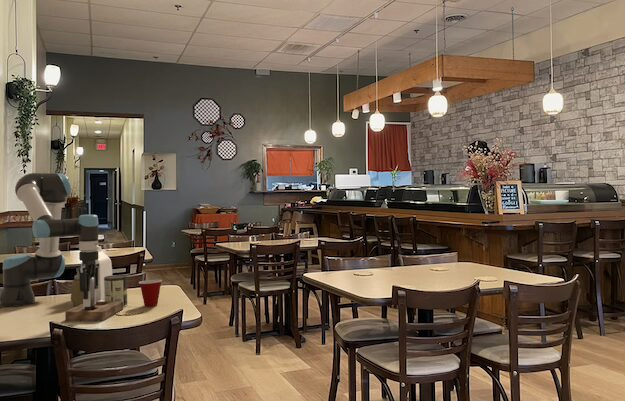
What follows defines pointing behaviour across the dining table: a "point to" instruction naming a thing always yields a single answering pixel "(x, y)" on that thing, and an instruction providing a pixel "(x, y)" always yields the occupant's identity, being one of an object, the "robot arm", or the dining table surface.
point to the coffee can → (116, 288)
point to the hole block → (94, 311)
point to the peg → (91, 295)
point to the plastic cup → (150, 292)
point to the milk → (102, 272)
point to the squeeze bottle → (76, 291)
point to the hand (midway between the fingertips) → (89, 305)
